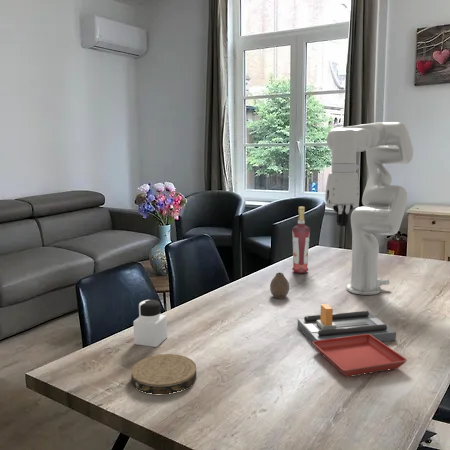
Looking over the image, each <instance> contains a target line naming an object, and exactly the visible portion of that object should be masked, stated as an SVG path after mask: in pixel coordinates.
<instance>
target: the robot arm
mask: <svg viewBox="0 0 450 450" xmlns="http://www.w3.org/2000/svg"><path fill="white" fill-rule="evenodd" d="M326 145H327V147H328V149H329V150H330V151H331V172H329V173H328V175H327V182H326V185H325V193H324V194H325V196H324V198H325V199H324V201H325V202H326V205H325V207H326V208H327V209H332V210H333V211H334V212H335V213H336V223H337V226H340V227H347V223H348V214H349V213H350V211H351V210H352V212H351V214H350V225H351V234H352V240H351V241H352V246H351V268H350V283H349V282H348V284H346V287H345V288H346V290H347V291H348V292H350V293H352V294H356V295H364V296H373V295H377V294H380V293H381V292H382V285H383V286H384V285H385V286H388V285H390V280H389V279H383V278H379V277H378V273H379V248H380V246H379V242H378V239H377V238H376V236H375V235H382V236H383V235H384V236H394V235H396V234H398V232H399V230H400V229H401V224H402V221H403V218H404V214H405V210H406V206H407V202H408V192H407V190H406V188H405V187H404V186H402V185H395V184H391V183H392V181H393V179H392V178H393V177H392V175H391V173H390V171H389V170H388V169H387V168H386V167H385V166H384V165H407V164H410V163H411V161H412V160H413V156H414V149H413V148H414V147H413V144H412V140H411V136H410V133H409V131H408V128H407V127H406V125H405V124H404V123H403V122H401V121H400V122H399V121H390V122H389V121H386V122H385V121H384V122H383V121H381V122H380V121H378V122H377V121H376V122H371V123H363V124H356V125H349V126H342V127H341V126H340V127H334V128H332V129H330V131H329V132H328V134H327V137H326ZM358 152H359V153H360V152H365V154H366V155H365V156H366V164H367V169H368V178H367V181H366V185H365V188H364V190H363V194H362V198H361V203H362V205H363V206H359V202H360V180H359V175H358V172H357V170H359V169H360V168H361V166H360V164H357V163H358V162H357V153H358Z"/></svg>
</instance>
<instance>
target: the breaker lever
mask: <svg viewBox="0 0 450 450" xmlns="http://www.w3.org/2000/svg"><path fill="white" fill-rule="evenodd" d="M332 314H334V313H333V307H331V306H330V305H329V304H328V303H322V304H321V303H320V315H321V317H320V320H317V325H318V326H319V327H320V328H321V329H322V330H327V329H336V325H335V324H334V323H333V322H332Z"/></svg>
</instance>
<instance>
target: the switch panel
mask: <svg viewBox="0 0 450 450" xmlns="http://www.w3.org/2000/svg"><path fill="white" fill-rule="evenodd" d="M320 317H321V314H314V315H306V316H304V317H302V318H297V327H298V329H299V330H300V331H301V332H302V333H303V334H304V335H305V337H306V338H307V339H308V340H309V341H310V342H311V343H312V342H313V341H318V340H326V339H333V338H340V337H347V336H355V335H363V334H370V335H372V336H373V337H375V338H376V339H378V340H379V341H381V342H382V341H386V342H392V341H391V340H396V341H397V332H396V331H395V330H393V328H391V327H390V326H388V325H387V324H386V323H385V322H383V321H381V320H380V318H377V316H375V315H374V314H372V313H371V312H369V311H368V310H363V311H351V312H339V313H333V314H332V322H333V323H334V324H335V325H336V329H327V330H322V329H321V328H320V327H319V326H318V325H317V320H320ZM382 343H383V342H382Z"/></svg>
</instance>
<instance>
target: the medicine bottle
mask: <svg viewBox="0 0 450 450" xmlns="http://www.w3.org/2000/svg"><path fill="white" fill-rule="evenodd" d="M138 313H139V314H138V315H139V316H138V317H137V318H136V319H135V320H133V323H132V324H133V338H134V339H133V341H134V345H138V346H143V347H150V348H151V347H152V348H157V347H159V345H160V344H162V343H163V342H164V341H165V340H166V339H168V329H167V327H168V326H167V324H168V323H167V315H165V314H161V302H160V301H158V300H156V299H146V300H142V301H140V302H139V304H138Z"/></svg>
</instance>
